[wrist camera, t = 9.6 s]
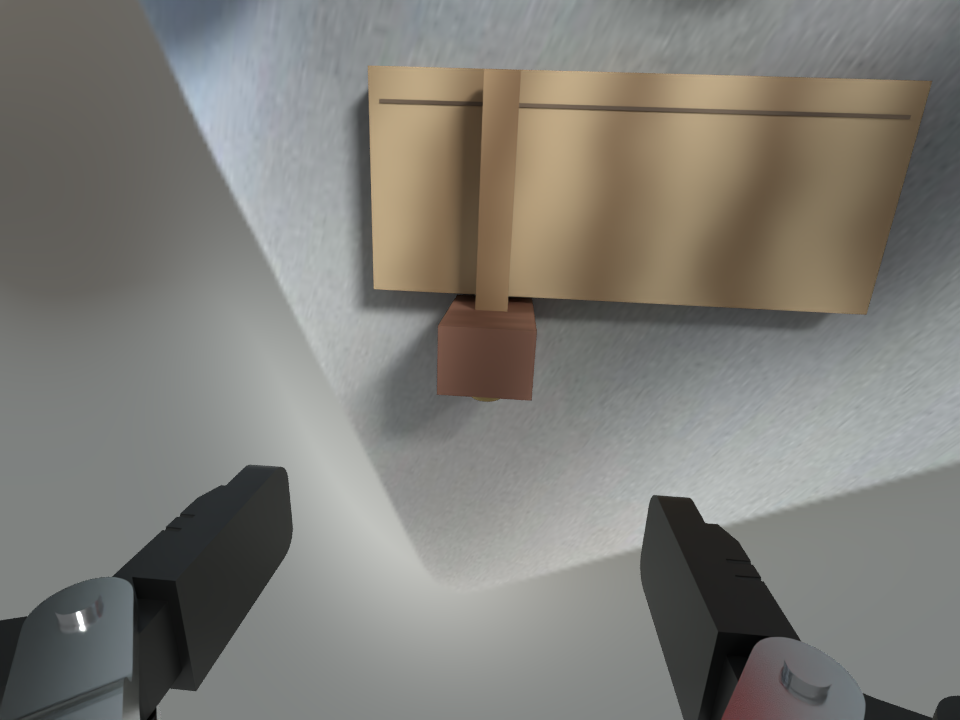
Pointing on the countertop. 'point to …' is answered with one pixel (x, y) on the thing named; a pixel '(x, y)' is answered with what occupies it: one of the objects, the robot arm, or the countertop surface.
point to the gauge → (491, 272)
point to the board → (647, 185)
